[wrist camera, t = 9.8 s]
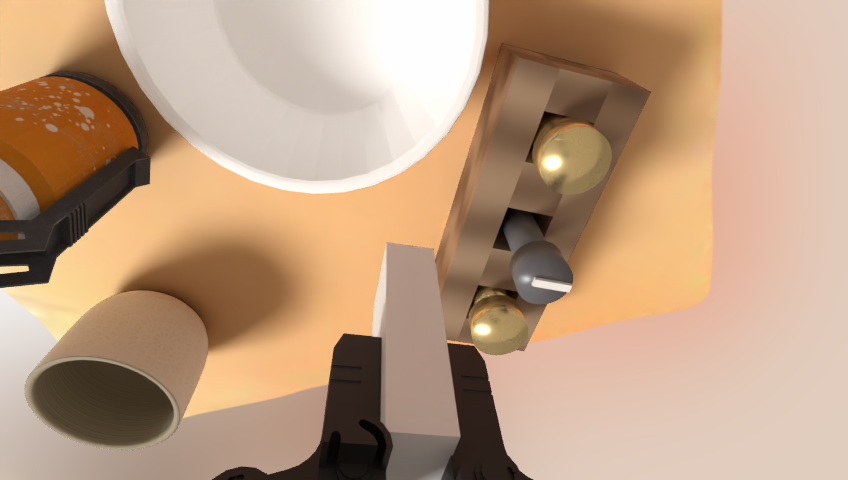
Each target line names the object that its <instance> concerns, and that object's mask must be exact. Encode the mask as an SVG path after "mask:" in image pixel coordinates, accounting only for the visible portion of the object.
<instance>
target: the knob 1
mask: <svg viewBox="0 0 848 480" xmlns="http://www.w3.org/2000/svg"><path fill="white" fill-rule="evenodd" d="M473 300H474V306H473V307H472V309H471V310H470V313H469V324H470V329H471V334H472V339H473V343H474V345H475V346H476V347H477V348H478V349H479V350H480V351H482V352H484V353H486V354H490V355H503V354H507V353H510V352H513V351H515V350H516V349H518V348H519V347H521V346H522V345H523V344H524V342H525V341H526V339H527V337H528V326H527V323H526V320H525V318H524V315H523V312H522V309H521V306H520V305H519V303H518V302H517V301H516V300H514V299H513V298H511V297H508V295H507V292H506V289H500V288H494V287H488V286H482V285H478V287H477V289H476V292H475V295H474V297H473Z"/></svg>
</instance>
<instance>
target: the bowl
mask: <svg viewBox="0 0 848 480" xmlns="http://www.w3.org/2000/svg"><path fill="white" fill-rule="evenodd" d="M105 6H106V11H107V15H108V18H109V20H110V23H111V26H112V29H113V32H114V34H115V37H116V40H117V43H118V45H119V48H120V51H121V54H122V55H123V57H124V59H125V61H126V63H127V64H128V66H129V68H130V70H131V72H132V73H133V75H134V77H135V79H136V81H137V82H138V84H139V86H140V88H141V89H142V91H143V92H144V93H145V95H146V96H147V97H148V98H149V100H150V101H151V102H152V104H153V105H154V106H155V107H156V109H157V110H158V111H159V113H160V114H161V115H162V116H163V118H164V119H165V120H166V121H167V122H168V123H169V124H170V125H171V126H172V127H173V128H174V129H175V130H176V131H177V132H178V133H180V134H181V135H182V136H183V137H184V138H185V139H186V140H187V141H188V142H189V143H190V144H191V145H192V146H194V147H195V148H196V149H198V150H199V151H201V152H202V153H204V154H205V155H207V156H208V157H209V158H211V159H212V160H214V161H215V162H217V163H218V164H220V165H221V166H223V167H225V168H227V169H229V170H231V171H233V172H235V173H237V174H239V175H242V176H244V177H246V178H248V179H250V180H252V181H255V182H259V183H262V184H265V185H269V186H272V187H275V188H279V189H282V190H289V191H297V192H305V193H313V194H317V193H336V192H347V191H351V190H356V189H360V188H364V187H368V186H372V185H375V184H378V183H380V182H382V181H384V180H387V179H389V178H391V177H393V176H396V175H398V174H400V173H402V172H403V171H405V170H406V169H408V168H409V167H411V166H412V165H413V164H415V163H416V162H418V161H419V160H421V159H422V158H423V157H425V156H426V155H427V154H428V153H429V152H430V151H431V150H432V149H433V148H434V147H435V146H436V145H437V144H438V143H439V142H440V141H441V140H442V139H443V138H444V137H445V136H446V135H447V134H448V133H449V131H450V129H451V128H452V126H453V125H454V123H455V122H456V120H457V119H458V117H459V116H460V114H461V113H462V111H463V110H464V108H465V107H466V105H467V103H468V100H469V98H470V95H471V93H472V91H473V88H474V86H475V83H476V81H477V79H478V76H479V74H480V70H481V66H482V61H483V57H484V52H485V47H486V43H487V38H488V20H489V0H105Z"/></svg>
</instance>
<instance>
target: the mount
mask: <svg viewBox="0 0 848 480" xmlns="http://www.w3.org/2000/svg"><path fill="white" fill-rule="evenodd" d="M650 93H651V92H650V91H648V90H646V89H644V88H642V87H640V86H639V85H637V84H635V83H633V82H631V81H629V80H628V79H626V78H624V77H622V76H620V75H618V74H616V73H613V72H609V71H605V70H601V69H597V68H594V67H590V66H586V65H582V64H579V63H575V62H571V61H567V60H563V59H560V58H556V57H552V56H548V55H544V54H541V53H537V52H533V51H529V50H525V49H522V48H518V47H514V46H510V45H507V44H503V43H502V46H501V49H500V53H499V56H498V59H497V62H496V66H495V69H494V72H493V75H492V78H491V82H490V85H489V88H488V91H487V95H486V98H485V101H484V104H483V108H482V111H481V114H480V117H479V120H478V124H477V127H476V130H475V133H474V137H473V140H472V143H471V146H470V150H469V153H468V156H467V159H466V162H465V166H464V169H463V172H462V175H461V179H460V182H459V185H458V188H457V192H456V195H455V198H454V201H453V204H452V208H451V211H450V214H449V217H448V221H447V224H446V227H445V230H444V234H443V237H442V240H441V243H440V246H439V250H438V253H437V256H436V259H435V263H436V270H437V277H438V284H439V291H440V298H441V304H442V311H443V318H444V325H445V332H446V339H447V340H451V341H458V342H465V343H472V344H474V343H473V339H472V334H471V329H470V324H469V313H470V310H471V309H472V307H473V306H474V300H473V297H474V295H475V292H476V289H477V287H478V285H482V286H488V287H494V288H500V289H506V292H507V295H508V297H511V298H513V299H514V300H516V301H517V302H518V303H519V305H520V306H521V309H522V312H523V315H524V318H525V320H526V323H527V326H528V337H527V339H526V341H525V342H524V344H523V345H522V346H521V347H519V348H518V349H516V350H520V351H524V350H525V348H526V346H527V344H528V342H529V340H530V338H531V336H532V334H533V332H534V330H535V328H536V326H537V324H538V322H539V320H540V318H541V316H542V313H543V311H544V309H545V307H546V305H547V304H533V303H529V302H527V301H525V300H524V299H523V298H522V297H521V296H520V295H519V293H518V291H517V288H516V285H515V283H514V280H513V277H512V274H511V271H510V261H511V258H512V256H513V254H512V252H511V249H510V247H509V244H508V241H507V239H506V236H505V234H504V231H503V228H502V226H501V224H502V221H503V218H504V216H505V213H506V210H507V208H508V207H509V208H514V209H519V210H524V211H528V212H531V213H532V215H533V217H534V219H535V221H536V223H537V225H538V227H539V228H540V230H541V232H542V234H543V236H544V238H545V240H546V241H547V242H550V243H553V244H554V245H556V246H557V247H558V248H559V249H560V251H561V253H562V255H563V256H564V258H565V260H566V262H568V260H569V258H570V256H571V254H572V252H573V250H574V248H575V246H576V244H577V242H578V240H579V238H580V236H581V234H582V232H583V230H584V228H585V226H586V223H587V221H588V219H589V217H590V215H591V213H592V211H593V209H594V207H595V205H596V203H597V201H598V199H599V197H600V195H601V193H602V191H603V189H604V187H605V185H606V183H607V181H608V179H609V176H610V174H611V172H612V170H613V168H614V166H615V164H616V162H617V160H618V158H619V156H620V154H621V152H622V150H623V148H624V146H625V144H626V142H627V140H628V138H629V136H630V134H631V131H632V129H633V127H634V125H635V123H636V121H637V119H638V117H639V115H640V113H641V111H642V109H643V107H644V105H645V103H646V101H647V99H648V97H649V95H650ZM544 111H546V112H550V113H555V114H559V115H563V116H565V117H566V118H567V117H576V118H580V119H583V120H585V121H587V122H588V123H590V124H591V125H592V126H593V127H594V128H596V129H597V130H598V131H599V132H600V133H601V134H602V135H603V136H604V137H605V138H606V139H607V140H608V142H609V144H610V147H611V151H612V159H611V164H610V167H609V170H608V171H607V173H606V175H605V176H604V178H603V179H602V180H601V181H600V182H599V183H598V184H597V185H596V186H594V187H593V188H591V189H589V190H587V191H585V192H583V193H579V194H574V195H565V194H560V193H557V192H555V191H553V190H552V189H551V188H549V187H548V186H547V184H546V183H545V182H544V180H543V178H542V177H541V175H540V174H539V172H538V171H537V169H536V168H535V166H534V163H533V159H532V151H533V144H532V142H533V139H534V137H535V134H536V131H537V129H538V126H539V124H540V121H541V118H542V116H543V113H544Z"/></svg>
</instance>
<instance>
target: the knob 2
mask: <svg viewBox="0 0 848 480" xmlns="http://www.w3.org/2000/svg"><path fill="white" fill-rule="evenodd" d="M532 144H533V151H532V159H533V163H534V166H535V168H536V169H537V171H538V172H539V174H540V175H541V177H542V178H543V180H544V182H545V183H546V184H547V186H548V187H549V188H551V189H552V190H553V191H555V192H557V193H560V194H565V195H574V194H579V193H583V192H585V191H587V190H589V189H591V188H593V187H594V186H596V185H597V184H598V183H599V182H600V181H601V180H602V179H603V178H604V176H605V175H606V173H607V171H608V170H609V167H610V164H611V159H612V151H611V147H610V144H609V142H608V140H607V139H606V138H605V137H604V136H603V135H602V134H601V133H600V132H599V131H598V130H597V129H596V128H594V127H593V126H592V125H591V124H590V123H588V122H587V121H585V120H583V119H580V118H576V117H567V118H566V117H565V116H563V115H559V114H555V113H550V112H546V111H544V113H543V116H542V118H541V121H540V124H539V126H538V129H537V131H536V134H535V137H534V139H533V142H532Z"/></svg>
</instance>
